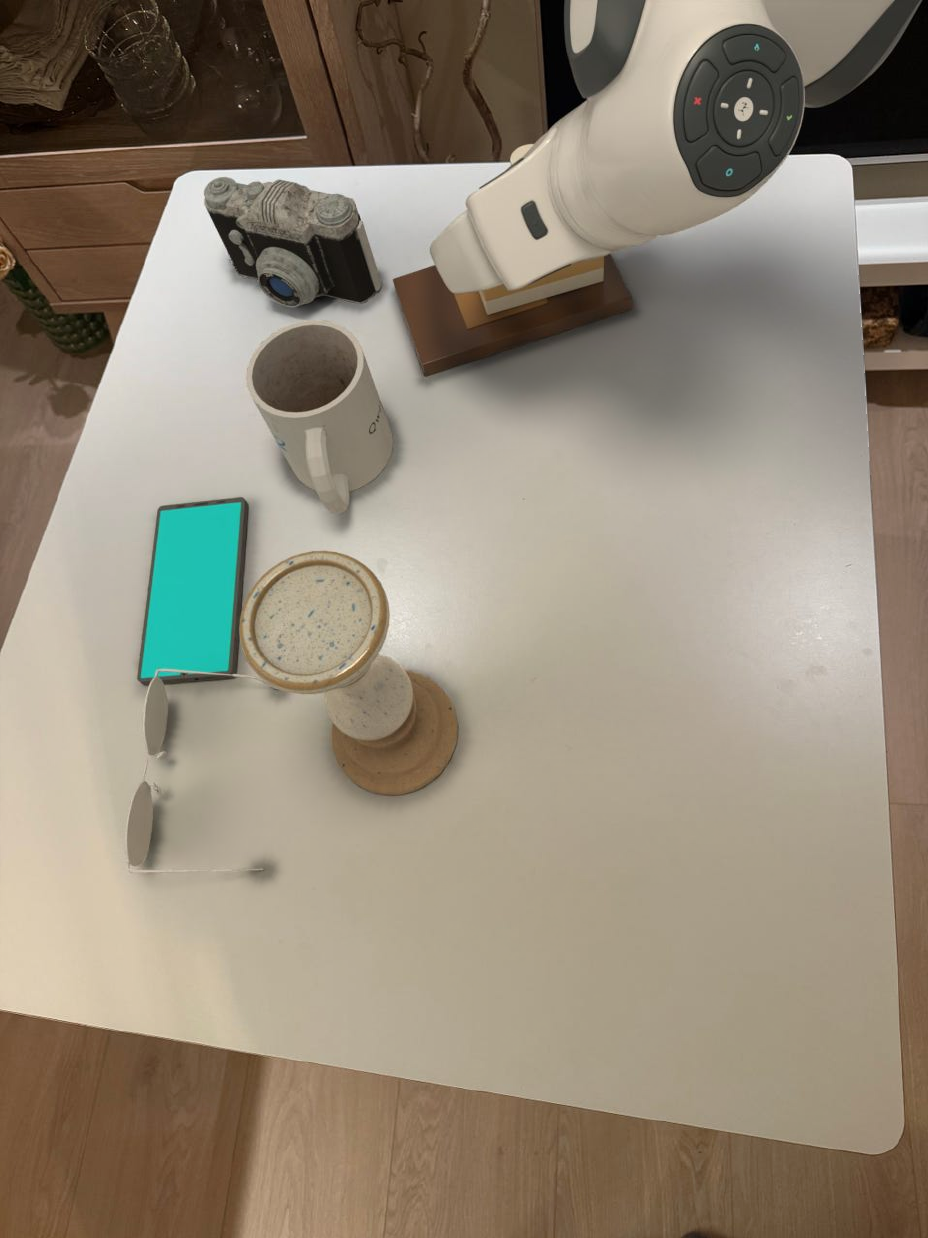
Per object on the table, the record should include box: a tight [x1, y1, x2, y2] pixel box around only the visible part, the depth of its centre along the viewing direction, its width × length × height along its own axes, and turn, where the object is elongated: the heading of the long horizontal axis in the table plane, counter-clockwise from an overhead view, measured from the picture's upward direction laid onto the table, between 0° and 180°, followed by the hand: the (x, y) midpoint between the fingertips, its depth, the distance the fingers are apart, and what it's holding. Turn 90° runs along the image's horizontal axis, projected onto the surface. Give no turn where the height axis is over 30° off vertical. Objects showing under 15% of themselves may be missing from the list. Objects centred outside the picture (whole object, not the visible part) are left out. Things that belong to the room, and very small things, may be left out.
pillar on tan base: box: [479, 143, 604, 315], centre depth 70 cm, size 10×5×12 cm, turn 105°
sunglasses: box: [124, 669, 280, 874], centre depth 61 cm, size 14×8×5 cm, turn 0°
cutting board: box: [392, 253, 633, 377], centre depth 76 cm, size 18×10×2 cm, turn 106°
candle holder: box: [239, 550, 459, 796], centre depth 53 cm, size 9×9×20 cm
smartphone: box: [136, 496, 249, 686], centre depth 69 cm, size 7×1×15 cm
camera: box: [203, 176, 382, 309], centre depth 76 cm, size 15×7×10 cm, turn 67°
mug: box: [245, 319, 394, 514], centre depth 68 cm, size 12×9×10 cm
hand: (529, 216), depth 70 cm, fingers closed on pillar on tan base, 3 cm apart
